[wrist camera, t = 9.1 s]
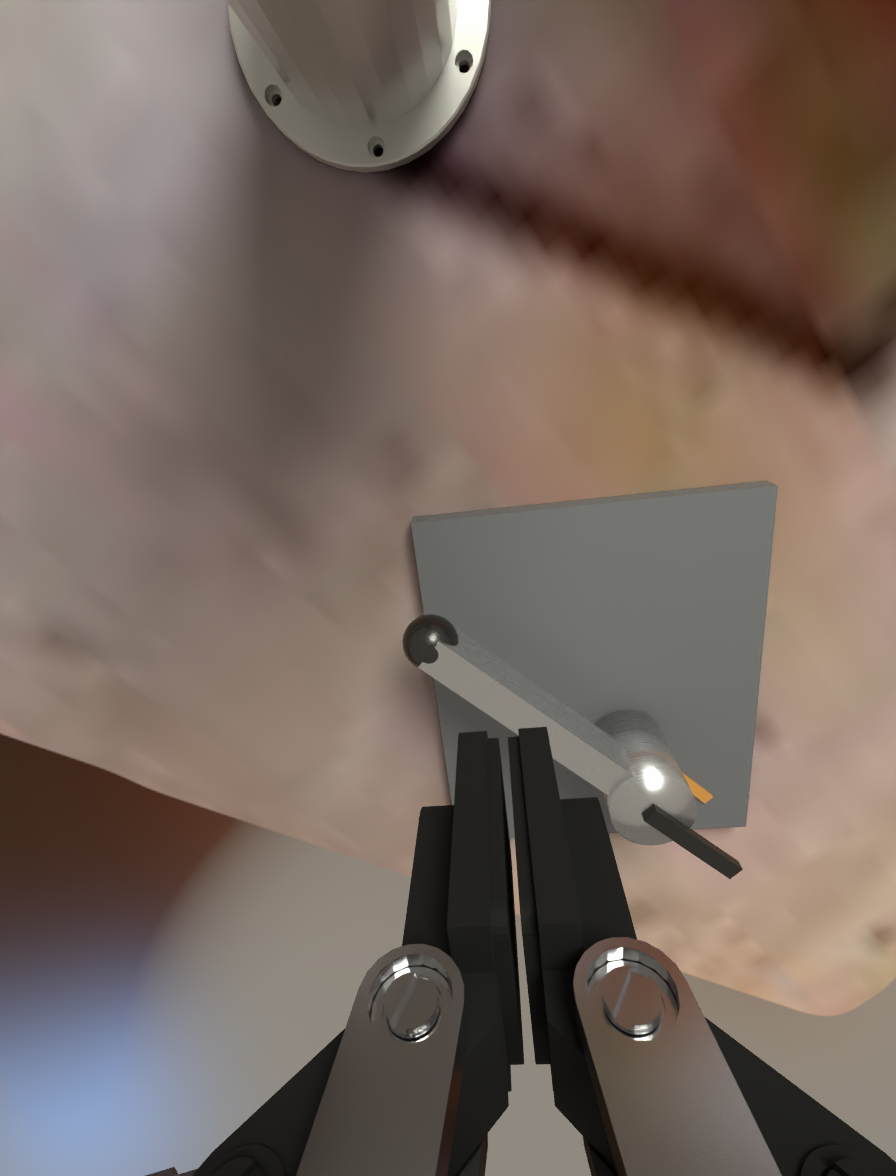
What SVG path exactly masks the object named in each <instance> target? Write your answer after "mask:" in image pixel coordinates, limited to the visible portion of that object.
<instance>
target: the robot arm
mask: <svg viewBox="0 0 896 1176" xmlns="http://www.w3.org/2000/svg"><path fill="white" fill-rule="evenodd" d="M226 1H227V9H228V17H229V25H230V32H231V36H232V39H233V43H234V46H235V50H236V54H237V57H238V61H239V64H240V66H241V68H242V71H243V73H244V75H245V77H246V80H247V82H248V84H249V86H250V89H251V91H252V92H253V94H254V95H255V97H256V99H257V100H258V102H259V103H260V105H261V106H262V108H263V110H264V111H265V113H266V114H267V115H268V117H269V118H270V119H271V120H272V121H273V123H274V124H275V125H276V126H277V127H278V129H279V130H280V131H281V132H282V133H283V134H284V135H285V136H286V137H287V138H289V139H290V140H291V141H292V142H293V143H294V144H295V145H296V146H297V147H298V148H299V149H301V150H302V151H304V152H306V153H307V154H309V155H310V156H312V157H314V158H315V159H317V160H318V161H320V162H322V163H325V164H328V165H331V166H333V167H336V168H339V169H342V170H348V171H356V172H364V173H366V172H376V171H385V170H390V169H392V168H395V167H398V166H401V165H404V164H407V163H410V162H411V161H413V160H414V159H416V158H418V157H419V156H421V155H423V154H424V153H426V152H427V151H429V150H430V149H431V148H432V147H433V146H435V145H436V144H437V143H438V142H439V141H440V140H441V139H442V138H443V137H444V136H445V135H446V134H447V133H448V132H449V131H450V129H451V128H452V127H453V125H454V124H455V123H456V121H457V120H458V118H459V117H460V116H461V114H462V113H463V112H464V110H465V108H466V106H467V104H468V102H469V100H470V98H471V96H472V94H473V92H474V90H475V88H476V86H477V82H478V79H479V76H480V73H481V70H482V66H483V63H484V60H485V57H486V50H487V44H488V37H489V31H490V15H491V0H226ZM462 65H467V66H468V67H469V71H468V72H466V73H461V72H460V71H459V69H460V67H461V66H462ZM277 98H282V101H281V102H280V104H279V105H278V106H276V107H275V101H276V99H277ZM377 148H382V149H383V154H382V156H380V157H376V156H375V155H374V154H375V150H376V149H377ZM518 733H519V736H517V737H508V750H509V763H510V777H511V791H512V805H513V819H514V833H515V846H516V860H517V874H518V888H519V902H520V914H521V926H522V936H523V946H524V956H525V966H526V975H527V984H528V994H529V1003H530V1014H531V1023H532V1033H533V1043H534V1051H535V1062H536V1064H550V1065H551V1075H552V1085H553V1091H554V1099H555V1106H556V1107H557V1108H558V1109H559V1111H560V1112H561V1113H562V1114H563V1115H564V1116H565V1117H566V1118H567V1119H568V1120H569V1121H570V1122H571V1123H572V1125H573V1126H574V1127H575V1128H576V1129H577V1130H578V1131H579V1132H580V1133H581V1134H582V1135H583V1141H584V1148H585V1152H586V1155H587V1160H588V1163H589V1168H590V1172H591V1176H896V1162H895V1161H894V1160H892V1159H891V1158H890V1157H889V1156H888V1155H887V1154H886V1153H884V1152H883V1151H882V1150H880V1149H879V1148H878V1147H876V1146H875V1145H874V1144H872V1143H871V1142H870V1141H868V1140H867V1139H866V1138H864V1137H863V1136H862V1135H860V1134H859V1133H858V1132H857V1131H855V1130H854V1129H853V1128H851V1127H850V1126H849V1125H847V1124H846V1123H845V1122H843V1121H842V1120H841V1119H839V1118H838V1117H837V1116H835V1115H834V1114H833V1113H831V1112H830V1111H829V1110H827V1109H826V1108H825V1107H823V1106H822V1105H821V1104H819V1103H818V1102H816V1101H815V1100H814V1099H813V1098H811V1097H810V1096H809V1095H807V1094H806V1093H805V1092H803V1091H802V1090H801V1089H799V1088H798V1087H797V1086H796V1085H794V1084H793V1083H791V1082H790V1081H789V1080H788V1079H786V1078H785V1077H784V1076H782V1075H781V1074H780V1073H778V1072H777V1071H776V1070H774V1069H773V1068H772V1067H770V1066H769V1065H767V1064H766V1063H765V1062H764V1061H762V1060H761V1059H760V1058H758V1057H757V1056H756V1055H754V1054H753V1053H752V1052H750V1051H749V1050H748V1049H746V1048H745V1047H744V1046H742V1045H741V1044H740V1043H738V1042H737V1041H736V1040H735V1039H733V1038H732V1037H730V1036H729V1035H728V1034H727V1033H725V1032H724V1031H723V1030H721V1029H720V1028H719V1027H717V1026H716V1025H715V1024H713V1023H712V1022H711V1021H709V1020H708V1019H707V1018H705V1017H704V1015H703V1013H702V1011H701V1009H700V1007H699V1005H698V1003H697V1001H696V998H695V997H694V994H693V992H692V990H691V988H690V986H689V984H688V982H687V980H686V979H685V977H684V976H683V974H682V973H681V971H680V970H679V968H678V967H677V965H676V964H675V963H674V962H673V961H672V960H671V959H670V958H669V957H668V956H667V955H665V954H664V953H663V952H662V951H661V950H659V949H657V948H656V947H654V946H652V945H650V944H648V943H646V942H644V941H641V940H637V938H636V934H635V930H634V927H633V923H632V919H631V915H630V912H629V908H628V904H627V901H626V897H625V893H624V890H623V886H622V882H621V879H620V875H619V871H618V868H617V864H616V860H615V857H614V853H613V849H612V845H611V842H610V838H609V834H608V831H607V827H606V823H605V820H604V816H603V812H602V809H601V805H600V802H599V800H598V798H597V797H589V798H572V799H560V796H559V791H558V785H557V780H556V774H555V769H554V764H553V758H552V753H551V747H550V742H549V736H548V731H547V727H534V728H519V729H518ZM517 1064H524V1054H523V1037H522V1021H521V1005H520V989H519V973H518V957H517V941H516V926H515V909H514V892H513V876H512V861H511V849H510V839H509V829H508V820H507V811H506V801H505V792H504V783H503V773H502V764H501V754H500V745H499V738H488V734H487V731H475V732H461V733H459V734H458V747H457V764H456V780H455V797H454V805H447V806H430V807H422V809H421V812H420V817H419V825H418V832H417V839H416V847H415V854H414V862H413V869H412V877H411V884H410V892H409V899H408V906H407V914H406V922H405V929H404V936H403V944H402V947H399V948H396V949H393V950H391V951H390V952H388V953H387V954H385V955H384V956H382V957H381V958H379V959H378V960H377V961H376V962H375V964H374V965H373V966H372V967H371V968H370V969H369V971H368V972H367V973H366V975H365V977H364V979H363V981H362V983H361V985H360V987H359V990H358V992H357V995H356V998H355V1002H354V1004H353V1007H352V1010H351V1013H350V1016H349V1019H348V1022H347V1025H346V1028H345V1029H344V1030H343V1031H342V1032H341V1033H340V1034H339V1035H338V1036H337V1037H335V1038H334V1039H333V1040H332V1041H331V1042H330V1043H329V1044H328V1045H327V1046H326V1047H325V1048H324V1049H323V1050H322V1051H320V1052H319V1053H318V1054H317V1055H316V1056H315V1057H314V1058H313V1059H312V1060H311V1061H310V1062H309V1063H308V1064H307V1065H306V1066H304V1067H303V1068H302V1069H301V1070H300V1071H299V1072H298V1073H297V1074H296V1075H295V1076H294V1077H293V1078H292V1079H290V1080H289V1081H288V1082H287V1083H286V1084H285V1085H284V1086H283V1087H282V1088H281V1089H280V1090H279V1091H278V1092H276V1093H275V1094H274V1095H273V1096H272V1097H271V1098H270V1099H269V1100H268V1101H267V1102H266V1103H265V1104H264V1105H263V1106H261V1107H260V1108H259V1109H258V1110H257V1111H256V1112H255V1113H254V1114H253V1115H252V1116H251V1117H250V1118H249V1119H248V1120H247V1121H245V1122H244V1123H243V1124H242V1125H241V1126H240V1127H239V1128H238V1129H237V1130H236V1131H235V1132H234V1133H232V1134H231V1135H230V1136H229V1137H228V1138H227V1139H226V1140H225V1141H224V1142H223V1143H222V1144H221V1145H220V1146H219V1147H218V1148H216V1149H215V1150H214V1151H213V1152H212V1153H211V1154H210V1156H209V1157H208V1158H207V1159H206V1160H205V1161H204V1162H203V1164H202V1165H201V1166H200V1167H199V1168H198V1169H195V1170H192V1171H189V1172H186V1173H182V1174H178V1173H177V1171H176V1169H175V1168H174V1167H172V1168H169V1169H166V1170H163V1171H159V1172H156V1173H153V1174H149V1175H146V1176H485V1168H486V1159H487V1150H488V1132H489V1131H490V1129H491V1128H492V1127H493V1125H494V1124H495V1122H496V1121H497V1120H498V1119H499V1118H500V1116H501V1115H502V1114H503V1112H504V1111H505V1110H506V1109H507V1107H508V1091H511V1069H510V1065H517Z"/></svg>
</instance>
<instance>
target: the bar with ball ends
mask: <svg viewBox="0 0 896 1176" xmlns="http://www.w3.org/2000/svg"><path fill="white" fill-rule="evenodd" d="M403 649H404V652H405V655H406V657H407V658H408V660H409V661H410V662H411V663H412V664H413V665H415V666H416V667H418V668H419V669H421V670H422V671H424V672H425V673H427V674H428V675H430V676H431V677H433V678H434V679H436V680H437V681H439V682H440V683H442V684H443V685H445V686H446V687H448V688H449V689H451V690H452V691H454V692H455V693H457V694H458V695H460V696H461V697H463V698H464V699H465V700H467V701H468V702H470V703H471V704H473V705H474V706H476V707H477V708H479V709H480V710H482V711H483V712H485V713H486V714H488V715H489V716H491V717H492V718H494V719H495V720H497V721H498V722H500V723H501V724H503V725H504V726H506V727H507V728H509V729H510V730H512V731H513V732H514V733H516V734H517V735H519V733H518V729H519V728H534V727H547V731H548V736H549V742H550V747H551V753H552V758H553V759H555V760H556V761H558V762H559V763H561V764H562V765H564V766H565V767H566V768H568V769H569V770H571V771H572V772H574V773H575V774H577V775H578V776H580V777H581V778H583V779H584V780H586V781H587V782H589V783H590V784H592V785H593V786H595V787H596V788H598V789H599V790H601V791H602V792H603V793H604V797H605V800H606V804H607V807H608V811H609V814H610V818H611V821H612V824H613V826H614V828H615V829H616V831H617V832H618V833H619V834H620V835H621V836H622V837H624V838H625V839H627V840H629V841H631V842H634V843H637V844H643V845H659V844H664V843H667V842H671V841H674V842H676V843H677V844H679V845H680V846H682V847H683V848H685V849H686V850H688V851H689V852H691V853H692V854H694V855H695V856H697V857H698V858H700V859H701V860H702V861H704V862H705V863H707V864H708V865H710V866H711V867H713V868H714V869H716V870H717V871H719V872H720V873H722V874H723V875H725V876H726V877H728V878H729V879H731V878H732V877H733V876H735V875H736V874H737V873H739V872H740V871H741V870H743V869H742V867H741V865H740V863H739V862H738V861H737V860H736V859H734V858H733V857H731V856H730V855H728V854H727V853H726V852H724V851H723V850H721V849H720V848H718V847H717V846H715V845H714V844H712V843H711V842H709V841H708V840H706V839H705V838H704V837H702V836H701V835H699V834H698V833H696V832H695V831H693V830H692V829H690V828H691V826H692V825H693V823H694V821H695V819H696V816H697V810H698V809H697V802H696V800H695V797H694V795H693V793H692V791H691V789H690V787H689V785H688V783H687V781H686V779H685V777H684V775H683V773H682V771H681V769H680V767H679V765H678V763H677V761H676V759H675V757H674V755H673V753H672V751H671V749H670V747H669V745H668V743H667V741H666V739H665V737H664V735H663V733H662V731H661V729H660V726H659V725H658V723H657V722H656V721H655V719H654V718H652V717H651V716H650V715H648V714H646V713H644V712H641V711H638V710H631V709H626V710H618V711H615V712H612V713H610V714H608V715H606V716H604V717H603V718H601V719H600V720H599V721H598V722H597V723H596V724H595V725H594V724H593V723H591V722H590V721H588V720H587V719H585V718H584V717H583V716H581V715H580V714H578V713H577V712H575V711H574V710H573V709H571V708H570V707H568V706H567V705H565V704H564V703H563V702H561V701H560V700H558V699H557V698H555V697H554V696H553V695H551V694H550V693H548V692H547V691H545V690H544V689H543V688H541V687H540V686H538V685H537V684H535V683H534V682H533V681H531V680H530V679H528V678H527V677H525V676H524V675H523V674H521V673H520V672H518V671H517V670H515V669H514V668H513V667H511V666H510V665H508V664H507V663H505V662H504V661H503V660H501V659H500V658H498V657H497V656H495V655H494V654H492V653H491V652H490V651H488V650H487V649H485V648H484V647H482V646H481V645H480V644H478V643H477V642H475V641H474V640H472V639H471V638H470V637H468V636H467V635H465V634H464V633H462V632H461V631H460V630H458V629H457V628H455V627H454V626H453V625H452V624H451V622H450V621H448V620H447V619H446V618H444V617H442V616H439V615H434V614H427V615H423V616H420V617H418V618H416V619H415V620H413V621H412V622H411V623H410V624H409V625H408V627H407V628H406V630H405V633H404V636H403Z"/></svg>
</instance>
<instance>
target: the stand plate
mask: <svg viewBox="0 0 896 1176" xmlns="http://www.w3.org/2000/svg"><path fill="white" fill-rule="evenodd" d="M777 489H778V486H777V485H775V484H772V483H770V482H767V481H760V482H750V483H740V484H730V485H721V486H711V487H701V488H691V489H682V490H672V491H662V492H653V493H643V494H633V495H623V496H614V497H604V498H594V499H585V500H575V501H565V502H555V503H546V504H536V505H526V506H517V507H507V508H497V509H487V510H478V511H468V512H458V513H448V514H439V515H429V516H419V517H413V519H412V521H411V529H412V536H413V543H414V550H415V556H416V563H417V570H418V577H419V584H420V591H421V597H422V604H423V611H424V615H427V614H434V615H439V616H442V617H444V618H446V619H447V620H448V621H450V622H451V624H452V625H453V626H454V627H455V628H457V629H458V630H460V631H461V632H462V633H464V634H465V635H467V636H468V637H470V638H471V639H472V640H474V641H475V642H477V643H478V644H480V645H481V646H482V647H484V648H485V649H487V650H488V651H490V652H491V653H492V654H494V655H495V656H497V657H498V658H500V659H501V660H503V661H504V662H505V663H507V664H508V665H510V666H511V667H513V668H514V669H515V670H517V671H518V672H520V673H521V674H523V675H524V676H525V677H527V678H528V679H530V680H531V681H533V682H534V683H535V684H537V685H538V686H540V687H541V688H543V689H544V690H545V691H547V692H548V693H550V694H551V695H553V696H554V697H555V698H557V699H558V700H560V701H561V702H563V703H564V704H565V705H567V706H568V707H570V708H571V709H573V710H574V711H575V712H577V713H578V714H580V715H581V716H583V717H584V718H585V719H587V720H588V721H590V722H591V723H593V724H594V725H595V724H596V723H597V722H598V721H599V720H600V719H601V718H603V717H604V716H606V715H608V714H610V713H612V712H615V711H618V710H626V709H631V710H638V711H641V712H644V713H646V714H648V715H650V716H651V717H652V718H654V719H655V721H656V722H657V723H658V725H659V726H660V729H661V731H662V733H663V735H664V737H665V739H666V741H667V743H668V745H669V747H670V749H671V751H672V753H673V755H674V757H675V759H676V761H677V763H678V765H679V767H680V769H681V771H682V773H683V775H684V777H685V779H686V781H687V783H688V785H689V787H690V789H691V791H692V793H693V795H694V797H695V800H696V802H697V809H698V810H697V816H696V819H695V821H694V823H693V825H692V826H691V828H690V829H706V828H727V827H746V821H747V810H748V799H749V789H750V778H751V767H752V757H753V746H754V735H755V725H756V714H757V703H758V692H759V682H760V671H761V660H762V650H763V639H764V628H765V618H766V607H767V596H768V585H769V575H770V564H771V553H772V543H773V532H774V521H775V511H776V500H777ZM433 679H434V678H433ZM434 686H435V693H436V700H437V707H438V714H439V720H440V727H441V734H442V741H443V748H444V755H445V761H446V768H447V775H448V782H449V789H450V796H451V802H452V805H454V797H455V780H456V764H457V747H458V734H459V733H461V732H475V731H487V734H488V738H499V745H500V754H501V764H502V773H503V783H504V792H505V801H506V811H507V820H508V829H509V838H515V833H514V819H513V805H512V791H511V777H510V763H509V750H508V737H517V736H519V735H517V734H516V733H514V732H513V731H512V730H510V729H509V728H507V727H506V726H504V725H503V724H501V723H500V722H498V721H497V720H495V719H494V718H492V717H491V716H489V715H488V714H486V713H485V712H483V711H482V710H480V709H479V708H477V707H476V706H474V705H473V704H471V703H470V702H468V701H467V700H465V699H464V698H463V697H461V696H460V695H458V694H457V693H455V692H454V691H452V690H451V689H449V688H448V687H446V686H445V685H443V684H442V683H440V682H439V681H437V680H436V679H434ZM553 764H554V769H555V774H556V780H557V785H558V791H559V796H560V799H572V798H589V797H597V798H598V800H599V802H600V805H601V809H602V812H603V816H604V820H605V823H606V827H607V831H608V833H618V832H617V831H616V829H615V828H614V826H613V824H612V821H611V818H610V814H609V811H608V807H607V804H606V800H605V797H604V793H603V792H602V791H601V790H599V789H598V788H596V787H595V786H593V785H592V784H590V783H589V782H587V781H586V780H584V779H583V778H581V777H580V776H578V775H577V774H575V773H574V772H572V771H571V770H569V769H568V768H566V767H565V766H564V765H562V764H561V763H559V762H558V761H556V760H555V759H553Z"/></svg>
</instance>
